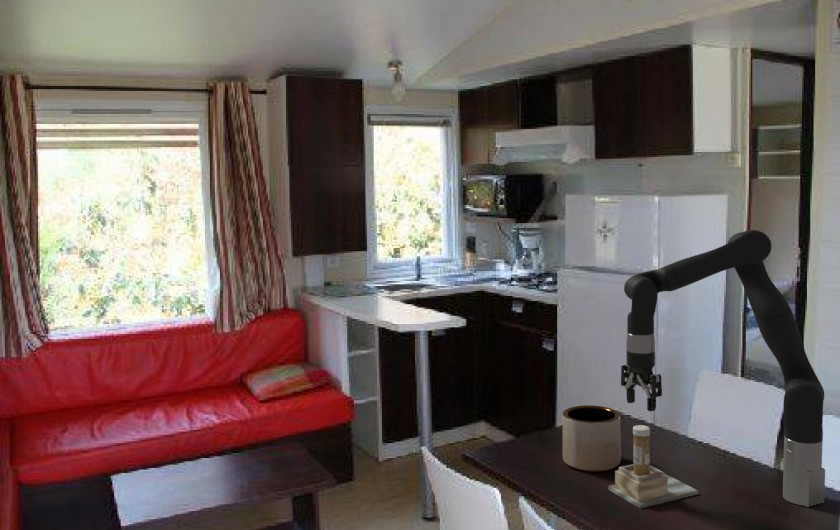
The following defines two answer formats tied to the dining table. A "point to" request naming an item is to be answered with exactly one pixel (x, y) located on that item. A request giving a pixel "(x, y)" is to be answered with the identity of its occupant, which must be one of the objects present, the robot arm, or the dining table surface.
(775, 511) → the dining table surface
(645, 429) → the sprinkles bottle
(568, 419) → the planter
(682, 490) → the build base
